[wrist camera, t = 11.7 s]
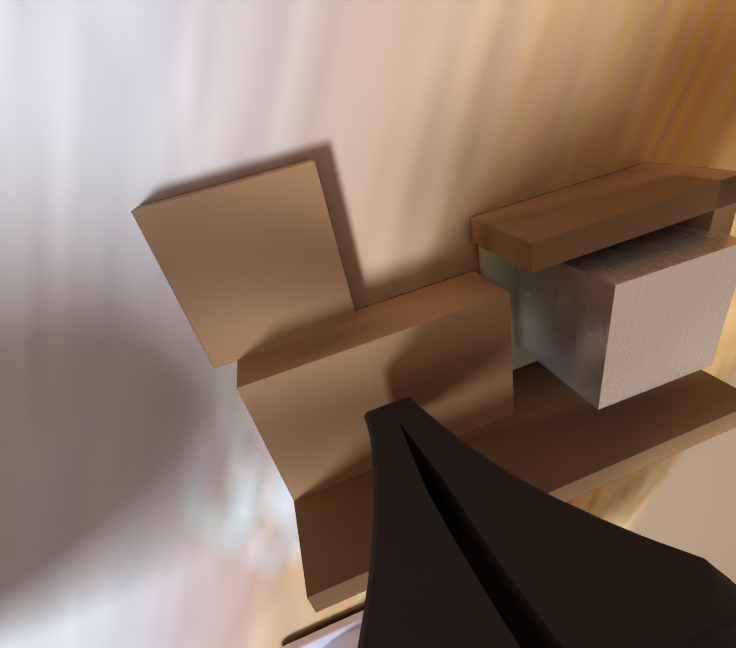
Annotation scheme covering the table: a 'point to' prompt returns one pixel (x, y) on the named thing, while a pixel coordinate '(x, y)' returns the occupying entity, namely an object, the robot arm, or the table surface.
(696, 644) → the robot arm
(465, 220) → the table surface
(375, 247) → the table surface
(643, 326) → the steel cube
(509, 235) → the walnut cabinet
